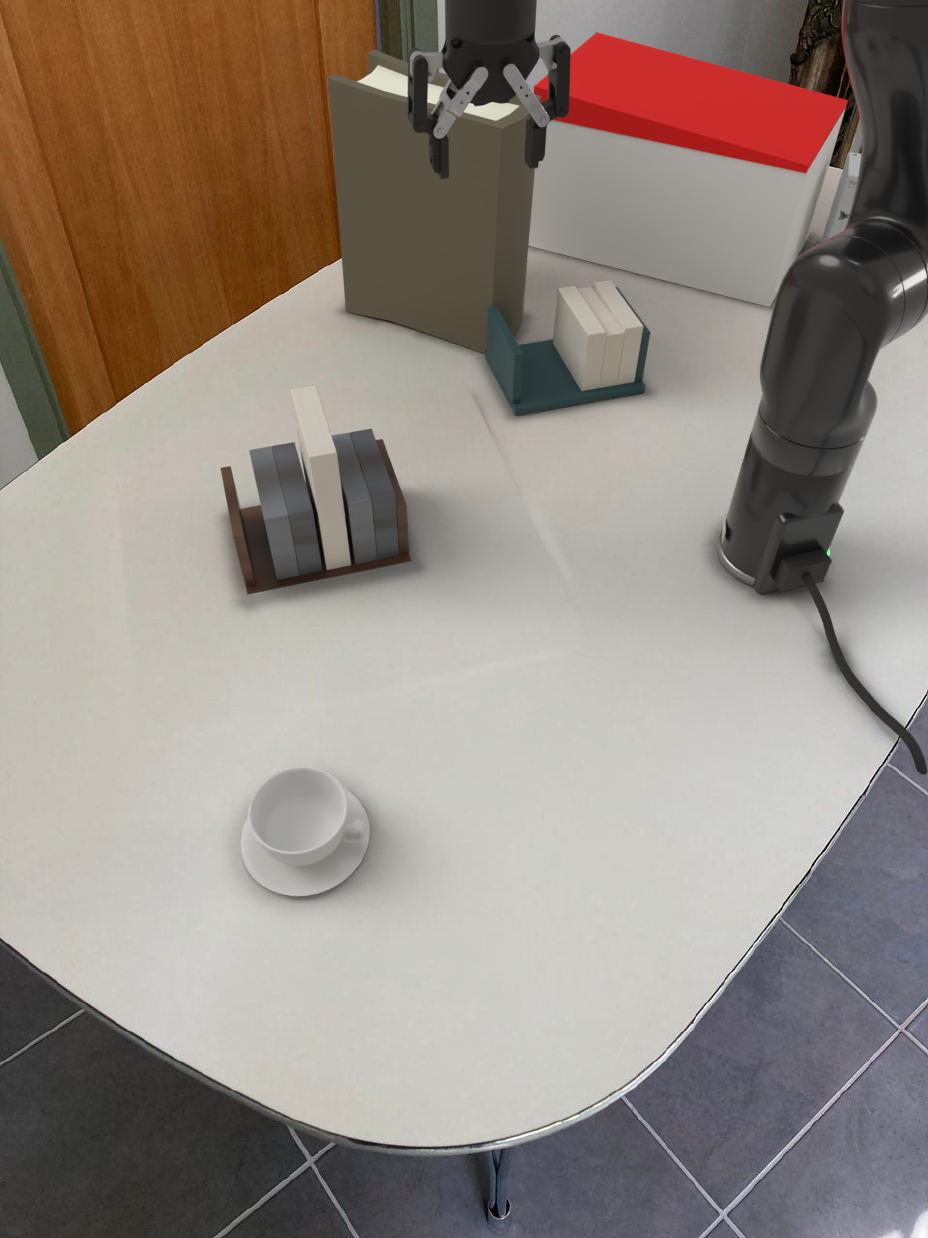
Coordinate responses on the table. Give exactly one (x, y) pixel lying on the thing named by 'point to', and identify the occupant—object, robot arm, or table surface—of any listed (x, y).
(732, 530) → the robot arm
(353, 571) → the brown book rack
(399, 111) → the book
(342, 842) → the teacup
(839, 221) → the white packaging box
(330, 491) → the white book
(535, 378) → the teal book rack
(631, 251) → the red-lidded white box
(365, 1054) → the table surface
